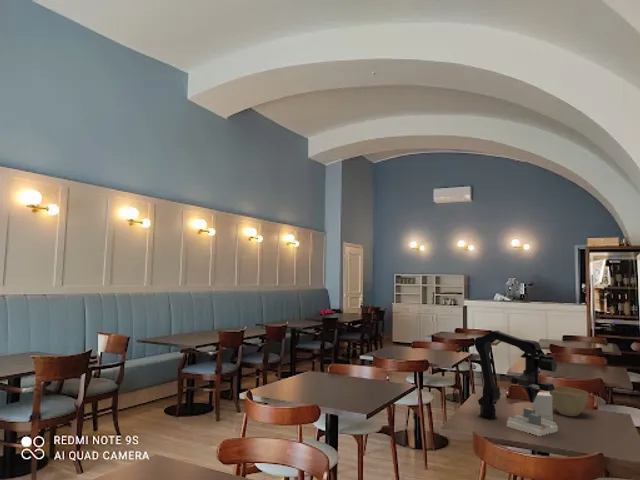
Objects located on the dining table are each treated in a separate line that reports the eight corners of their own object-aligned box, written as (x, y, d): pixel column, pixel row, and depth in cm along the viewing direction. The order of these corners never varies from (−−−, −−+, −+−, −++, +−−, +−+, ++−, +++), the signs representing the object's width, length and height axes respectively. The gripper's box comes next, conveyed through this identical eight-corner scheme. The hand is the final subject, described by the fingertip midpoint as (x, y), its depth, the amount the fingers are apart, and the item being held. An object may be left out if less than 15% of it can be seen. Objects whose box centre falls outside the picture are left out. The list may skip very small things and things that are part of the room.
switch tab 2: (528, 425, 216) (528, 414, 216) (532, 424, 217) (532, 413, 218) (536, 427, 212) (536, 416, 213) (540, 426, 214) (540, 415, 214)
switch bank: (506, 426, 222) (506, 417, 222) (525, 421, 230) (525, 413, 231) (539, 436, 209) (539, 427, 209) (557, 431, 217) (557, 422, 217)
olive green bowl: (588, 421, 234) (588, 396, 235) (547, 415, 243) (547, 391, 244) (588, 413, 250) (588, 389, 251) (550, 407, 259) (550, 384, 260)
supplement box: (552, 422, 231) (552, 396, 232) (536, 421, 232) (536, 394, 233) (548, 418, 238) (548, 392, 239) (533, 416, 239) (533, 391, 240)
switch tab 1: (523, 418, 225) (523, 408, 226) (527, 417, 227) (527, 407, 227) (531, 421, 222) (531, 410, 222) (535, 420, 224) (535, 409, 224)
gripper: (503, 366, 225) (503, 399, 224) (541, 373, 209) (541, 409, 208) (517, 364, 231) (517, 397, 230) (554, 371, 216) (554, 406, 214)
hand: (531, 402), depth 220 cm, fingers closed
